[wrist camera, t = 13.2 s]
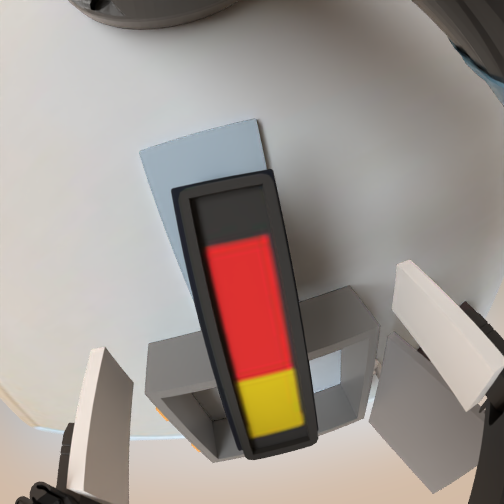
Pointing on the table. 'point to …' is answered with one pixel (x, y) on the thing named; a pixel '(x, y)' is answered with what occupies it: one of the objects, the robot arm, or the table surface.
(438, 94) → the table surface
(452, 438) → the lid
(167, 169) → the mat
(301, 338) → the magazine
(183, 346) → the case
